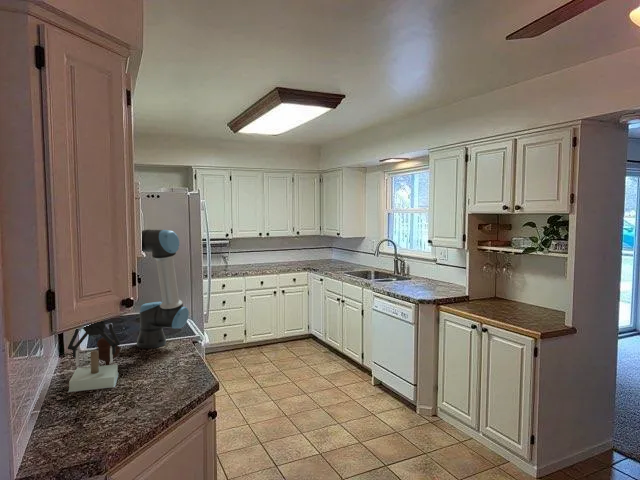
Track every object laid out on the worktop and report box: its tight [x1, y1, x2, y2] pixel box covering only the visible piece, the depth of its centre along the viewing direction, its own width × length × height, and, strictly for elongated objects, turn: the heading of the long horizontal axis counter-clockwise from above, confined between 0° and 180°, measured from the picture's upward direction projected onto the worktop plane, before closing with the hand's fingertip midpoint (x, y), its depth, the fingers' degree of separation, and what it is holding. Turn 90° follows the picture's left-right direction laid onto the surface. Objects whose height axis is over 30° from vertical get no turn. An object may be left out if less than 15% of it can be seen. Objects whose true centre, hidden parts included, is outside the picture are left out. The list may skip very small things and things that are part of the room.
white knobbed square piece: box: [68, 349, 119, 392], centre depth 179 cm, size 16×16×13 cm
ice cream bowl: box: [94, 336, 122, 366], centre depth 196 cm, size 11×11×15 cm
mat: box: [67, 372, 120, 393], centre depth 179 cm, size 17×17×1 cm
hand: (94, 363), depth 179 cm, fingers open, 12 cm apart
